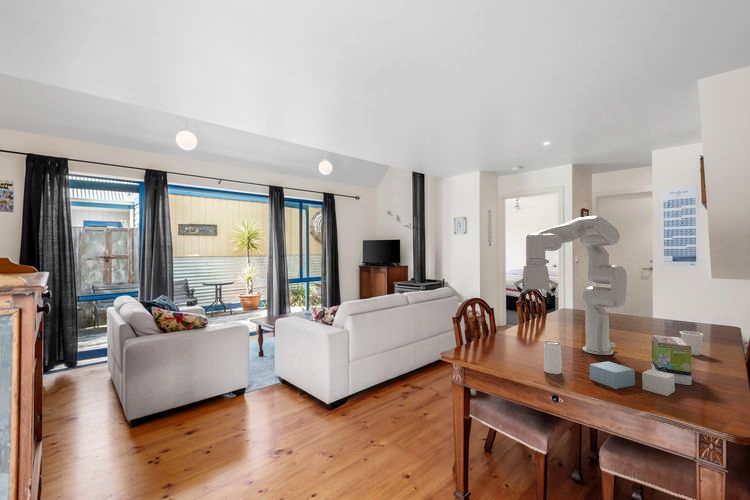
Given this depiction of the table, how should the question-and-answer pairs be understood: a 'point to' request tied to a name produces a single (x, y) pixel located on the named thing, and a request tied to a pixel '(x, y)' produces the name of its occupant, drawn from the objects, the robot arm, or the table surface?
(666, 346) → the tea box
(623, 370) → the pedestal block
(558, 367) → the can
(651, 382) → the grey block
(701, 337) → the dixie cup
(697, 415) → the table surface
